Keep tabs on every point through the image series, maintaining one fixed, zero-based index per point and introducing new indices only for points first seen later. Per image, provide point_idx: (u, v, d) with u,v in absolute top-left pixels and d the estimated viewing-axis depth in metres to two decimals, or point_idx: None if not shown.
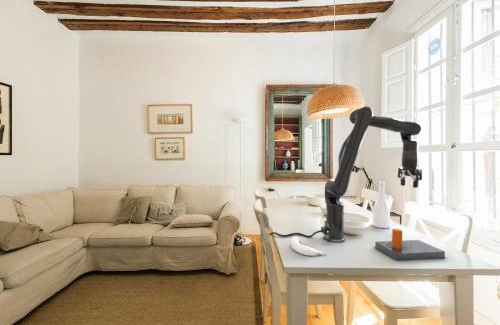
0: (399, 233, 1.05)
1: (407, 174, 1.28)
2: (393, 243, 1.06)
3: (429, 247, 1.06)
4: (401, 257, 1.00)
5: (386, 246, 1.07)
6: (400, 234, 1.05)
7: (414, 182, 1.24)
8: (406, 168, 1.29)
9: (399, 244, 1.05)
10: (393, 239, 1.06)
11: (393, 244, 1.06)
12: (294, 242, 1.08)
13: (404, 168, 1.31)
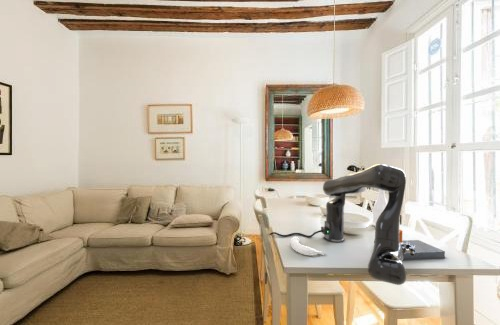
0: (399, 233, 1.05)
1: None
2: None
3: (429, 247, 1.06)
4: None
5: None
6: (400, 234, 1.05)
7: None
8: None
9: None
10: None
11: None
12: (294, 242, 1.08)
13: None
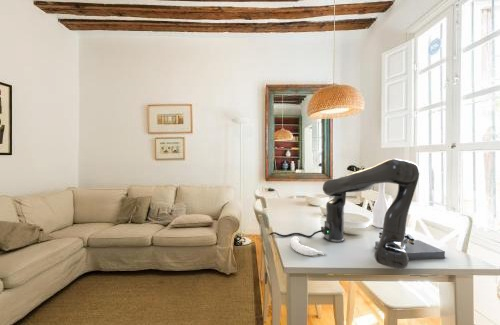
0: None
1: None
2: None
3: (429, 247, 1.06)
4: None
5: None
6: None
7: None
8: None
9: None
10: None
11: None
12: (294, 242, 1.08)
13: None
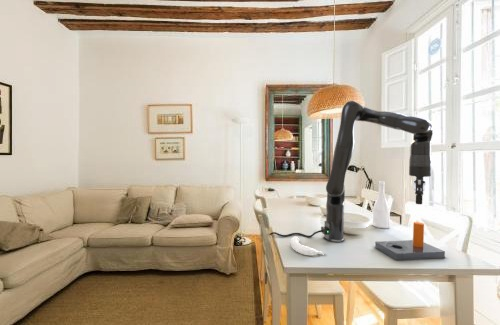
0: (421, 226, 1.06)
1: None
2: (414, 236, 1.08)
3: (429, 247, 1.06)
4: (401, 257, 1.00)
5: (386, 246, 1.07)
6: (422, 227, 1.06)
7: (416, 197, 0.94)
8: None
9: (421, 237, 1.06)
10: (414, 232, 1.08)
11: (414, 237, 1.08)
12: (294, 242, 1.08)
13: None
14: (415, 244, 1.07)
